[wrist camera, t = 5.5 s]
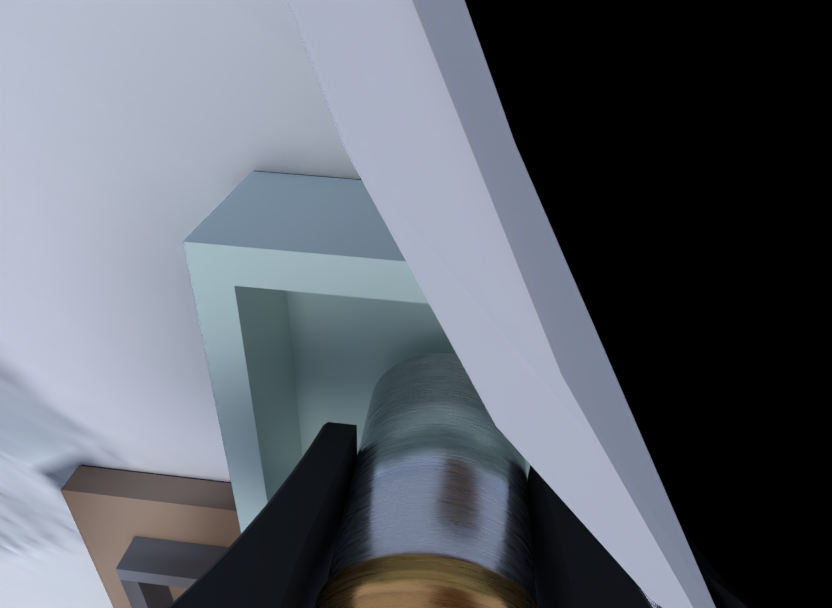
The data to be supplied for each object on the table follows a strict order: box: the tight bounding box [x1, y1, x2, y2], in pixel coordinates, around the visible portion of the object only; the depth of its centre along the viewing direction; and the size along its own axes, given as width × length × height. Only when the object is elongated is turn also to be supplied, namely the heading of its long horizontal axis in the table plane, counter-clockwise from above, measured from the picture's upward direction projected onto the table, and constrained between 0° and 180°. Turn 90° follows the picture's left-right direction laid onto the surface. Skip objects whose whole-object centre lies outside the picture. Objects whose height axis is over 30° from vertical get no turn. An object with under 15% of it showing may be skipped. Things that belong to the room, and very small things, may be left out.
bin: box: [183, 171, 530, 533], centre depth 14 cm, size 10×10×4 cm
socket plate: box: [61, 466, 241, 608], centre depth 21 cm, size 10×10×2 cm
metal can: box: [314, 353, 539, 608], centre depth 11 cm, size 4×4×6 cm
